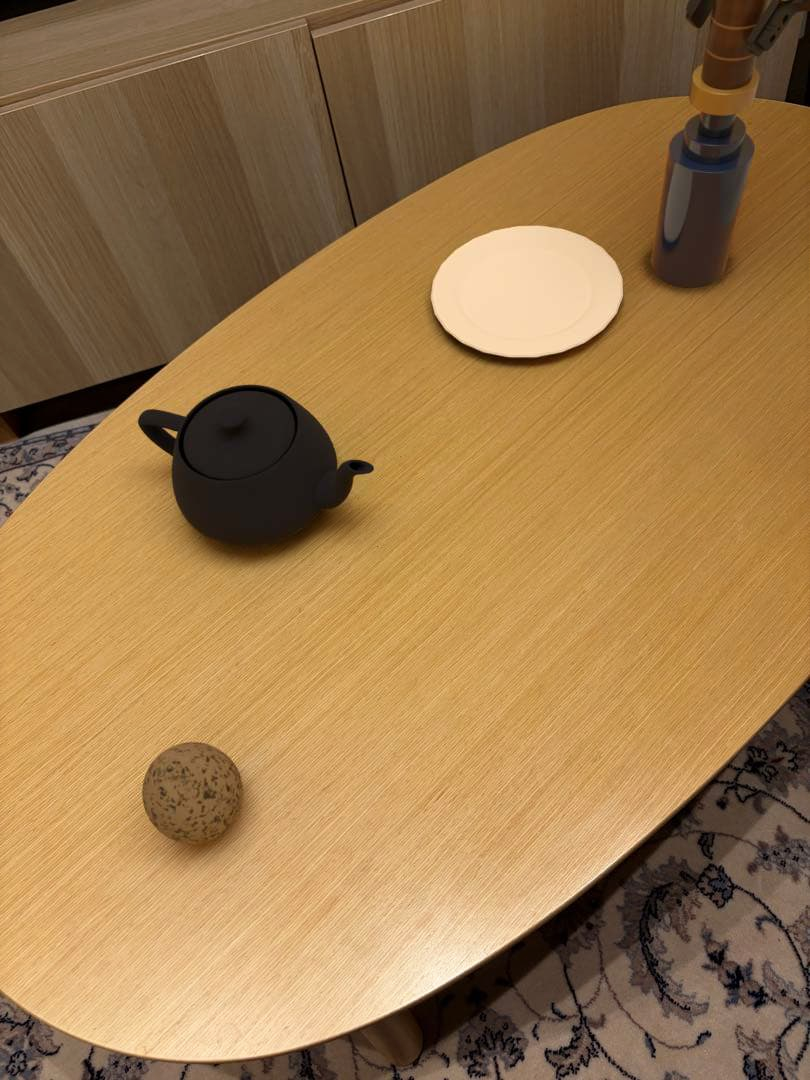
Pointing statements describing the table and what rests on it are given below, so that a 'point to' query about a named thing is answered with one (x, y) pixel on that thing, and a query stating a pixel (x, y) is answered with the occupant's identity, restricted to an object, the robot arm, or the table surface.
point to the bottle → (704, 186)
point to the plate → (527, 292)
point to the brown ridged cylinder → (731, 43)
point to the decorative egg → (192, 792)
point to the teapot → (251, 465)
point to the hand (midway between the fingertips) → (721, 36)
